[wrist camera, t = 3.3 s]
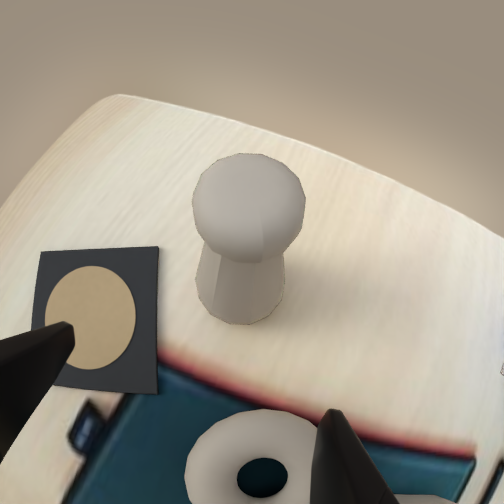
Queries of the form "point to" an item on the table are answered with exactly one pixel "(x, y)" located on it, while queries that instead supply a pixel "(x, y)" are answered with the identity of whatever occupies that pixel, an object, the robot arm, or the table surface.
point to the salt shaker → (245, 234)
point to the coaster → (103, 315)
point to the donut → (251, 457)
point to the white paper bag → (421, 499)
